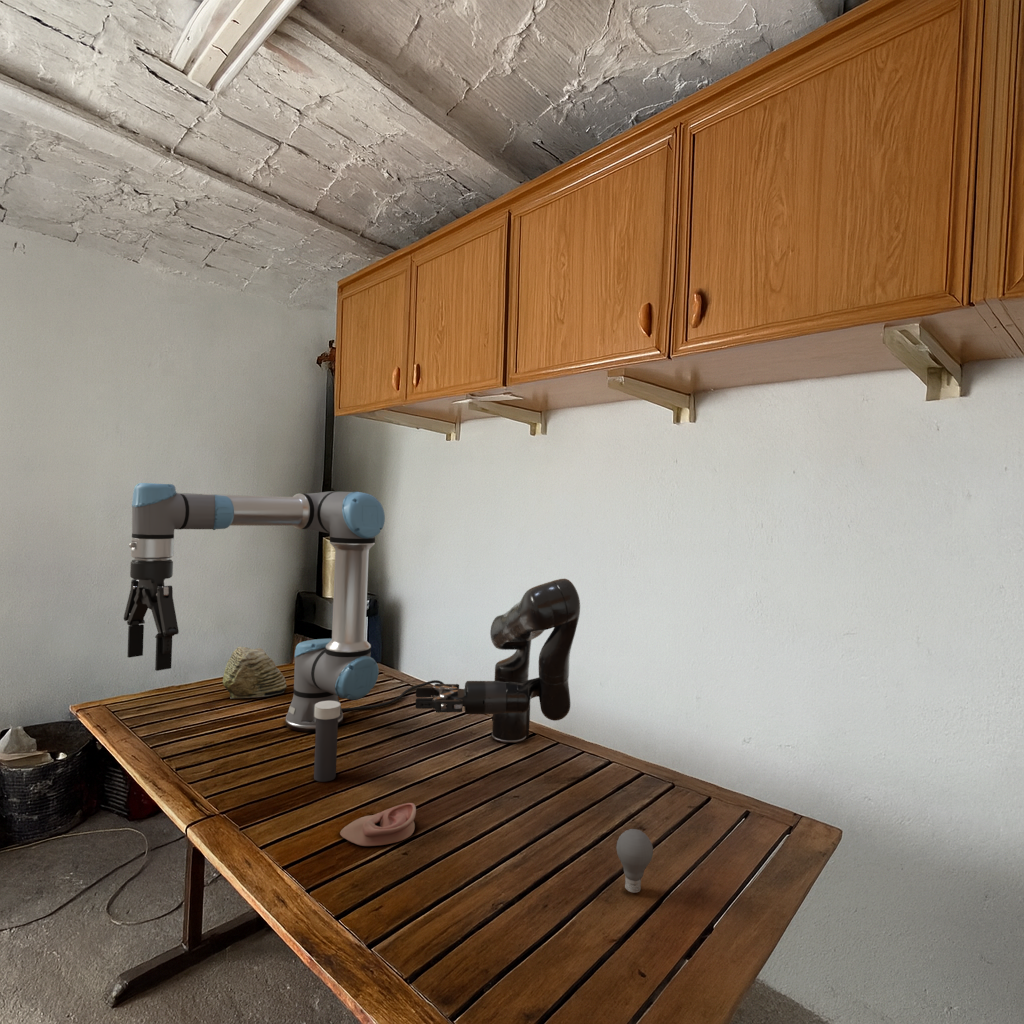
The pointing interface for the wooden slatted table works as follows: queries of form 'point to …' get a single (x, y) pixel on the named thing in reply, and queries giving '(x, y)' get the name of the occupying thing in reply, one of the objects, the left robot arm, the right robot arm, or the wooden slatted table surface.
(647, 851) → the light bulb
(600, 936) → the wooden slatted table surface
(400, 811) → the anatomical model
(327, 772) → the gray bottle
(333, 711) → the lid
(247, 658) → the fossil
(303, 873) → the wooden slatted table surface
